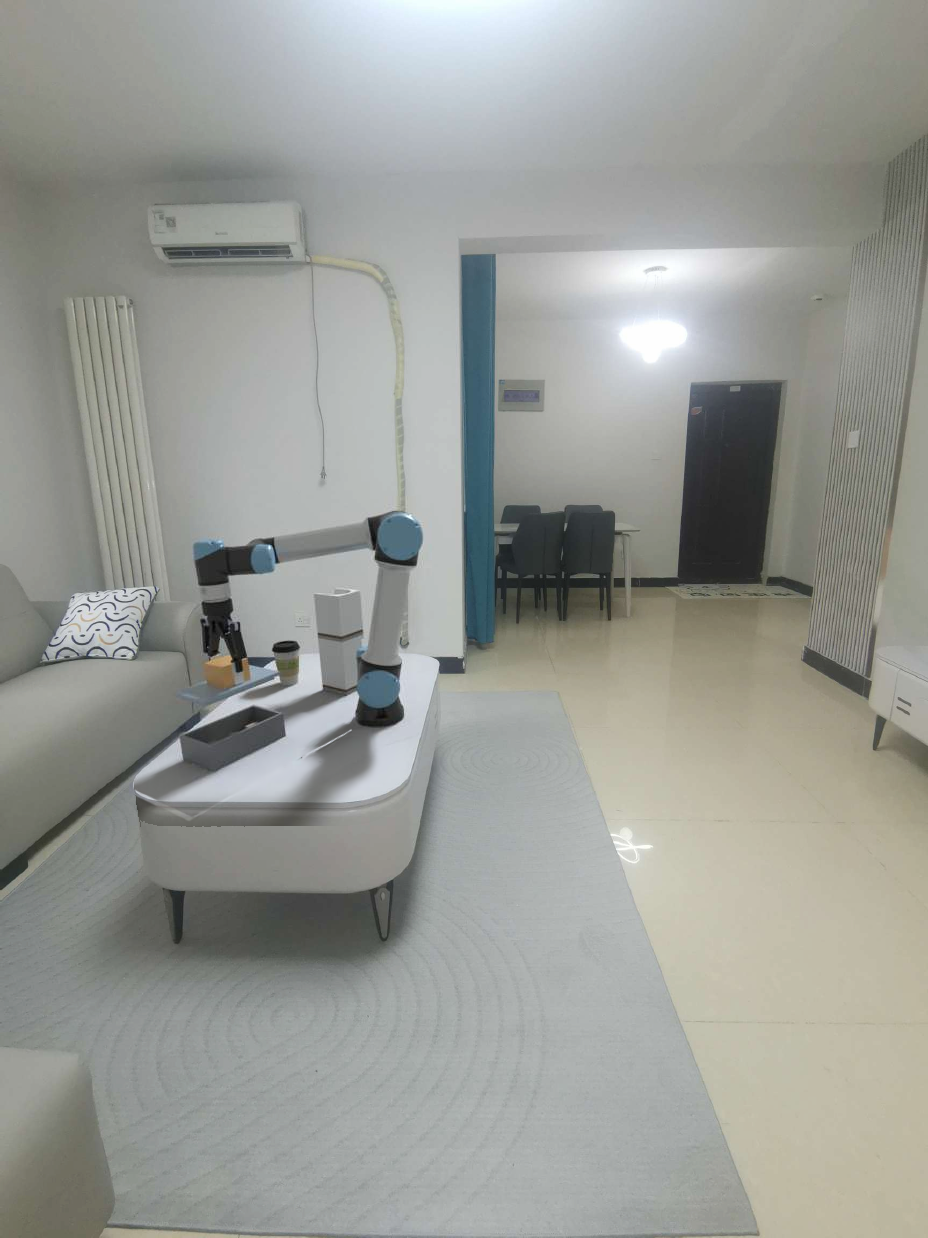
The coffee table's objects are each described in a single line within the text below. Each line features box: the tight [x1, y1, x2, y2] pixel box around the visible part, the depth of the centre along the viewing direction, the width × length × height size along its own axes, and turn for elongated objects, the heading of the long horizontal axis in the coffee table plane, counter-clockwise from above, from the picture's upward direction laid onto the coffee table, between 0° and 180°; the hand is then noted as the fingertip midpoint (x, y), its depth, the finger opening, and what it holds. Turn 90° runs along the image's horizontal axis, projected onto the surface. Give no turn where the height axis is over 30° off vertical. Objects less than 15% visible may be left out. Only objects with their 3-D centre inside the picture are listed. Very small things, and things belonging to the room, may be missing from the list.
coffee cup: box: [271, 640, 301, 687], centre depth 215 cm, size 10×10×15 cm
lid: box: [173, 654, 280, 707], centre depth 159 cm, size 13×24×8 cm, turn 148°
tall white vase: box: [313, 587, 365, 696], centre depth 206 cm, size 11×11×35 cm
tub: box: [178, 704, 287, 773], centre depth 164 cm, size 13×24×8 cm, turn 148°
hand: (228, 680), depth 160 cm, fingers closed on lid, 8 cm apart
